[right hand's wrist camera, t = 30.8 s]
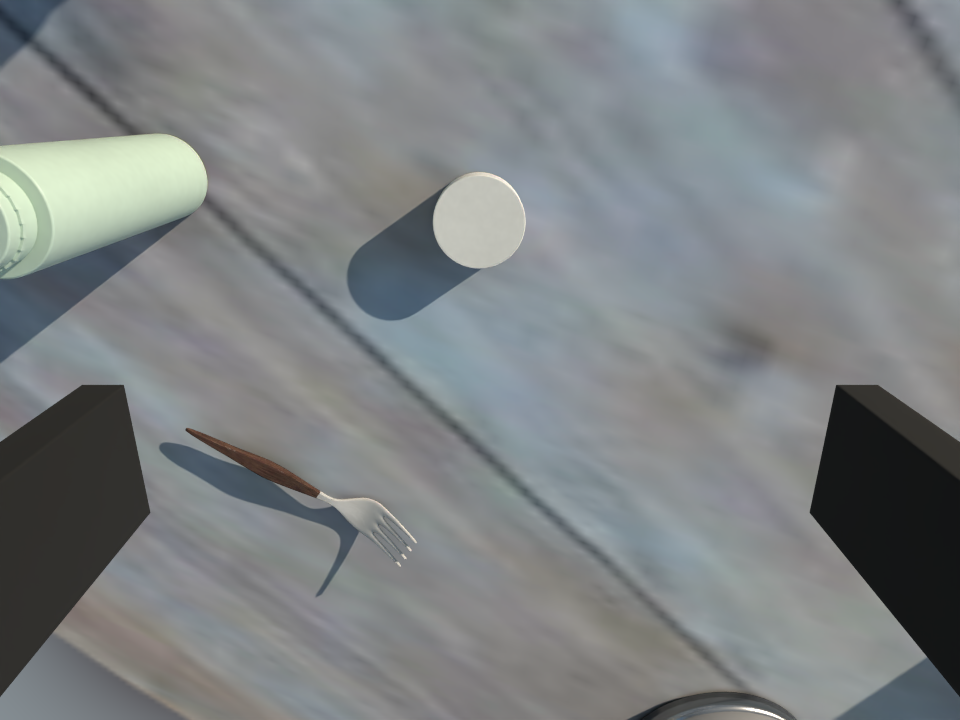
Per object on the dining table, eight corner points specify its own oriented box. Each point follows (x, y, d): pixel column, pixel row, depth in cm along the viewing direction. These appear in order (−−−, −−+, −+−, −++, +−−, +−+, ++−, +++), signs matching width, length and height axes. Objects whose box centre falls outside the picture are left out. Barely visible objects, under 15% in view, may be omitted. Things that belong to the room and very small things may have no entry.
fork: (197, 408, 41) (184, 423, 39) (421, 522, 44) (418, 541, 42) (181, 440, 42) (167, 456, 40) (402, 550, 45) (398, 569, 43)
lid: (432, 173, 36) (430, 176, 34) (523, 170, 36) (525, 173, 34) (437, 263, 38) (435, 270, 36) (523, 260, 38) (525, 267, 36)
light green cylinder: (124, 125, 35) (-128, 138, 21) (209, 142, 36) (21, 166, 21) (124, 210, 37) (-109, 278, 22) (206, 225, 37) (29, 301, 23)
